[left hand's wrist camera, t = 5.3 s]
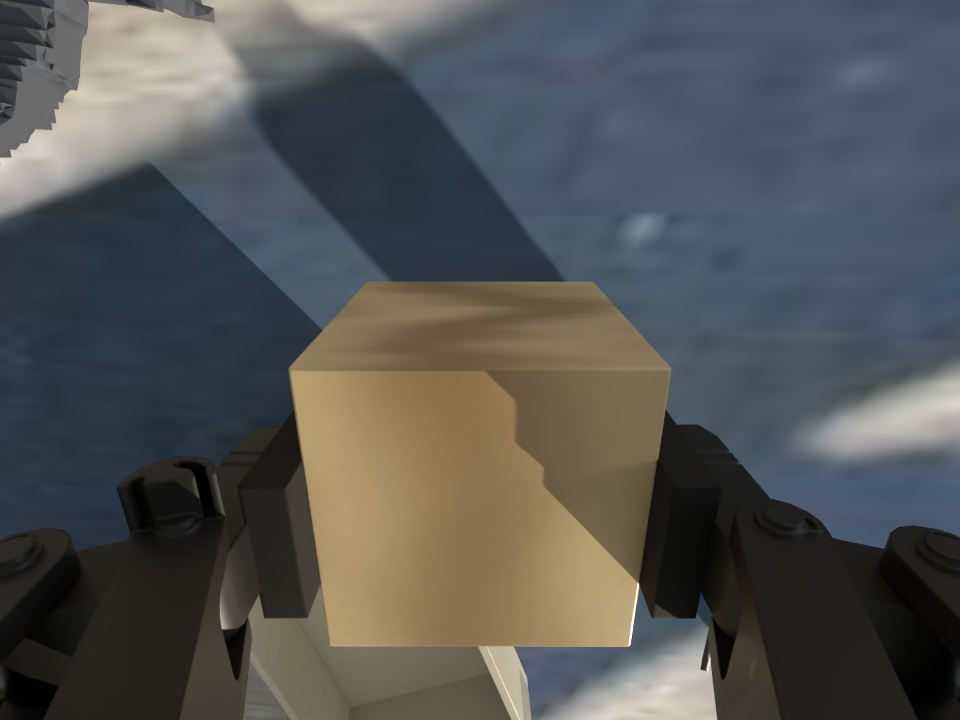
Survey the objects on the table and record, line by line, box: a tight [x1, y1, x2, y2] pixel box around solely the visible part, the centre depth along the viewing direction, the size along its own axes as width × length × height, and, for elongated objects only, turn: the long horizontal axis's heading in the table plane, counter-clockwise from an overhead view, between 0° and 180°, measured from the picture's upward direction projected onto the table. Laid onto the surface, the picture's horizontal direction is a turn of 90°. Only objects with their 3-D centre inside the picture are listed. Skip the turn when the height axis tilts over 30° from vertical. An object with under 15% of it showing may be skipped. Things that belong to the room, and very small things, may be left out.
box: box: [248, 587, 531, 720], centre depth 34 cm, size 25×15×12 cm, turn 18°
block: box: [288, 282, 671, 647], centre depth 12 cm, size 6×6×6 cm
